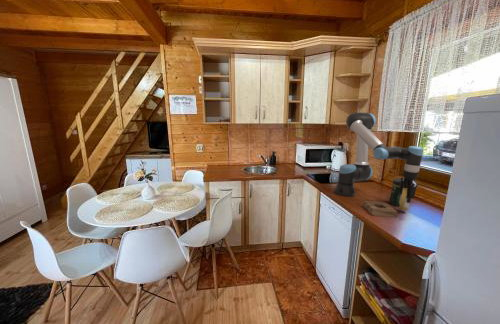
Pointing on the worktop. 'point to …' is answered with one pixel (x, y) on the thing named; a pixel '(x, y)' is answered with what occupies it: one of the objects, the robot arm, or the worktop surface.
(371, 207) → the socket block
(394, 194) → the coffee jar
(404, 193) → the peg
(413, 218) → the worktop surface
